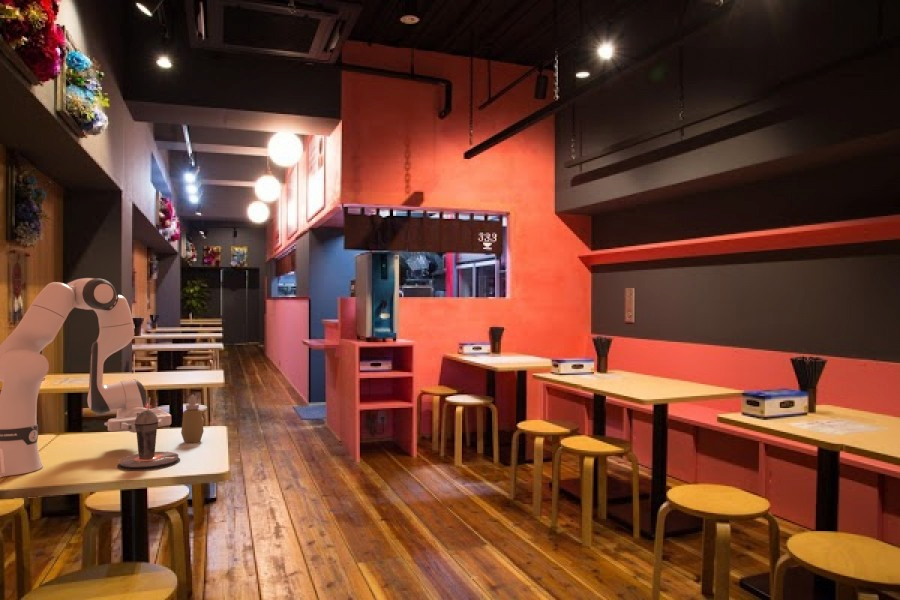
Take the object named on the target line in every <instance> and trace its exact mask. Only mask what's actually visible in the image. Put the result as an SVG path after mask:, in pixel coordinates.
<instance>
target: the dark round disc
mask: <svg viewBox="0 0 900 600" xmlns="http://www.w3.org/2000/svg"><path fill="white" fill-rule="evenodd" d="M178 458H179V454H178V453H176V452H172V451H155V453H154V458H151V459H139V454H138V453H134V454H131V455H128V456H123V457H121V458H120V459H119V460H118V464H119V466H120V467H123V468H132V469H139V468H152V467H159V466H164V465H168V464H171V463H174V462H176V461H177V460H178Z"/></svg>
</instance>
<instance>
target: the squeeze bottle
mask: <svg viewBox="0 0 900 600" xmlns="http://www.w3.org/2000/svg"><path fill="white" fill-rule="evenodd" d="M199 408H200V404H199V403H197V402H196V397H195V395H194V394H191V395H190V397H189V402H188V404H185V410H184V411H183V413H182V420H181V421H182V423H181V433H180V434H181V437H182V439H183V442H184V443H186V444H194V443H193V442H195V443H199V442H201V440H202V437H203V434H204V431H205V430H204V422H203V413H202V410H201V409H199ZM198 441H199V442H198Z"/></svg>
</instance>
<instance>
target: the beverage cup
mask: <svg viewBox="0 0 900 600" xmlns="http://www.w3.org/2000/svg"><path fill="white" fill-rule="evenodd" d="M147 401H148V403H147V408H148V411H143V412H141V413H140V414H139V415H138V416H137V418H136V420H135V424H134V425H135V429H136V440H137V441H136V442H137V450H138V451H137V452H138V453H137V454H139V459H151V458H154V453H155V452H156V444H157V443H156V441H157V433H158V432H157V431H158V423H159V422H158V418H157V416H156V414H155V413H153V412H151V411H149V408H150V407H151V406H150V405H151V397H148V400H147Z"/></svg>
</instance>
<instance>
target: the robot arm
mask: <svg viewBox="0 0 900 600" xmlns="http://www.w3.org/2000/svg"><path fill="white" fill-rule="evenodd" d="M129 305H130V304H129V303H128V300H127V298H126V297H125V296H124V295H121V294H119V293H118V292H117V291H116V288H115V286H114V285H113V284H112V283H111V282H110V281H108V280H106V279H103V278H97V277H96V278H93V277H84V278H76V279H72V280H69V281H68V282H66V283H64V282H60V281H57V282H56V281H53V282H49V283H48V284H47V285H45V286H44V288H42V290H41V291H40V292H39V293H38V294H37V296H36V297H35V298H34V299H33V301H32V302H31V304H30V306H29V307H28V309H27V310H26V312H25V313H24V315H23V317H22V318H21V320H20V321H19V323H18V324H17V326H16V327H15V328H14V330H13V331H12V332H11V333H10V334H9V335H8V336H7V337H5V339H4V340H3V341H2V343H1V344H0V382H2V386H1V390H0V478H2V477H8V476H9V477H10V476H17V475H22V474H27V473H31V472H35V471H39V470H40V469H42V468H43V463H42V461H41V457H40V453H39V447H38V438H39V425H38V424H37V414H38V413H37V412H38V411H37V410H38V409H37V407H38V406H37V405H38V396H39V393H40V388H41V386H42V382H43V380H44V378H45V377H46V376H47V374H48V373H49V370H50V366H49V365H50V363H49V361H48V359H47V358H46V356H45V355H43V354H41V352H42V351H43V350H44V349H45V348H46V347H47V346H48V345H50V344H51V343H52V342H53V341H54V340H55V338H56V337H57V335H58V333H59V331H60V330H61V328H63V327H62V326H63V325H64V324H65V321H66V320H67V318H68V316H69V314H70V313H71V312H72V310H73V309H76V310H78V309H79V310H89V311H90V310H91V311H94V313H95V314H96V316H97V321H98V328H99V334H98V337H97V339H96V341H94V342H92V345H91V349H90V360H89V379H88V381H89V384H88V385H89V386H88V393H87V407H88V408H89V410H90V411H92V412H93V413H95V414H98V415H102V414H105V413H109V412H111V411H115V410H117V411H116V417H114V418H109V419H108V420H107V421H105V422H104V426H106V427H107V431H108V432H120V431H128V432H130V433H136V429H135V425H134V424H135V420H136V418H137V416H138V415H139V414H140V413H141V412H143V411H148V407H147V408H146V407H145V406H146V405H147V401H148V400H147V398H148V397H147V392H146V389H145V387H144V385H143V384H142V383H141V382H140V381H139V380H138V379H135V378H132V379H127V380H122V381H118V382H114V383H109V384H104V383H103V380H104V378H103V377H104V363H105V361H106V360H107V358H109V357H110V356H111V355H113V354H114V353H115V354H116V353H117V352H118V351H119V352H120V350H122V349H123V348H125V347H127V346H128V345H129V344H130V343H131V341H132V340H133V339H134V336H135V327H134V320H133V314H132V311H131V308H130V306H129ZM149 411H151V412H153V413H155V414H156V416H157V418H158V422H159V423H158V427H163V426H164V427H165V426H170V425H171V424H172V414H170V413H169V412H167V411H165V410H162V408H156V407H155V408H149ZM158 427H157V428H158ZM136 434H137V433H136Z"/></svg>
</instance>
